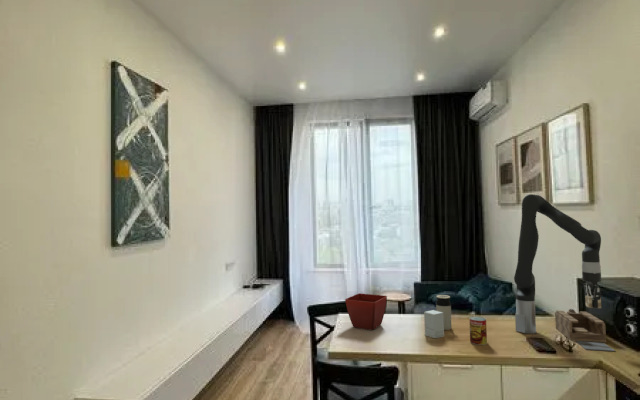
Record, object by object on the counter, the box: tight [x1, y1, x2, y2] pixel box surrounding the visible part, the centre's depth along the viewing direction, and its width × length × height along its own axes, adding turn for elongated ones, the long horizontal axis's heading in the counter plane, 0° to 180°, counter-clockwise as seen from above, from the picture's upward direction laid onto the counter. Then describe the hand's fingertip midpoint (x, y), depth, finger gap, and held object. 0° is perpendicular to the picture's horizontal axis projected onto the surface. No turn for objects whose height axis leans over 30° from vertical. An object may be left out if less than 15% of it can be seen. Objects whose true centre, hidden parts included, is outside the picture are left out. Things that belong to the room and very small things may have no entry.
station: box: [554, 310, 616, 353], centre depth 197 cm, size 34×16×10 cm, turn 166°
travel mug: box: [435, 294, 452, 331], centre depth 220 cm, size 8×8×18 cm
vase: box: [566, 308, 577, 313], centre depth 222 cm, size 7×7×9 cm
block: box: [584, 295, 602, 309], centre depth 187 cm, size 4×5×5 cm
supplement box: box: [423, 309, 445, 339], centre depth 207 cm, size 7×7×13 cm
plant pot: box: [344, 293, 388, 331], centre depth 226 cm, size 19×19×17 cm
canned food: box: [468, 315, 488, 346], centre depth 195 cm, size 8×8×12 cm
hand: (593, 306), depth 186 cm, fingers closed on block, 4 cm apart
